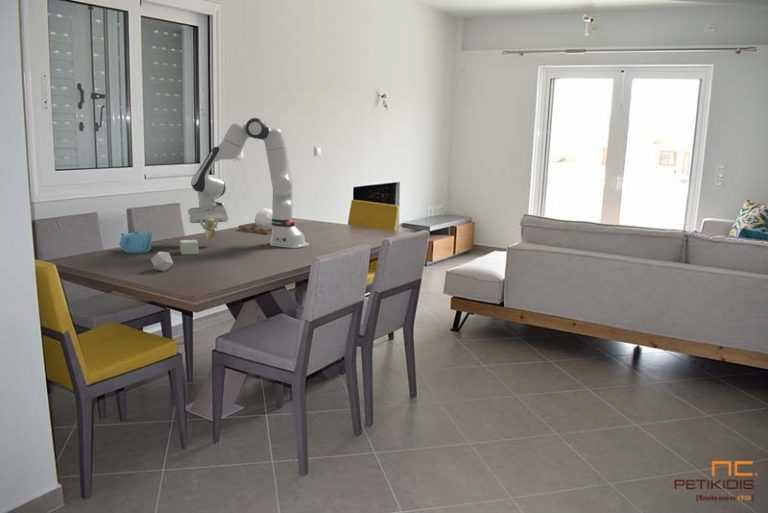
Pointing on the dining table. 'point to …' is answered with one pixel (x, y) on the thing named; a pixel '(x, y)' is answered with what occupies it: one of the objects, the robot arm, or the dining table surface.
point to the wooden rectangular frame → (254, 228)
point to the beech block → (210, 228)
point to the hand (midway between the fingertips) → (210, 228)
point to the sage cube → (189, 247)
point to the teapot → (135, 242)
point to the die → (162, 261)
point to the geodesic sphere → (264, 218)
